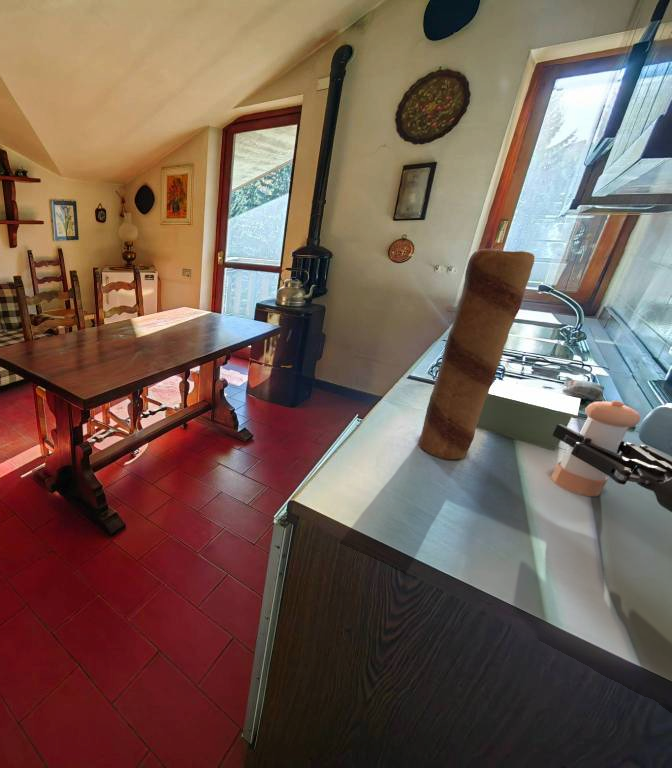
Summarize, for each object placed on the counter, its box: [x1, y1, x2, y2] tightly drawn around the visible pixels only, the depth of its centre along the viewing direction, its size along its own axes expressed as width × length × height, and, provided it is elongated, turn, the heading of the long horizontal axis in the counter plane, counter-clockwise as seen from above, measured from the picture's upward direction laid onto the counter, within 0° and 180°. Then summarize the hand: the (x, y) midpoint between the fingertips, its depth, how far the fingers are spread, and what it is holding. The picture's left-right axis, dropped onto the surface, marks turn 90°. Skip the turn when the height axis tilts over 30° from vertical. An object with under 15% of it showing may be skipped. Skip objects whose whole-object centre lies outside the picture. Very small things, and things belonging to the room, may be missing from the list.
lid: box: [487, 379, 582, 419], centre depth 98 cm, size 17×14×1 cm
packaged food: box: [562, 380, 605, 403], centre depth 122 cm, size 9×12×5 cm
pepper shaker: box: [550, 400, 641, 497], centre depth 77 cm, size 7×7×19 cm
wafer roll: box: [417, 248, 536, 460], centre depth 84 cm, size 10×11×45 cm
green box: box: [476, 396, 572, 452], centre depth 101 cm, size 16×14×9 cm
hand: (572, 430), depth 81 cm, fingers closed on pepper shaker, 5 cm apart
